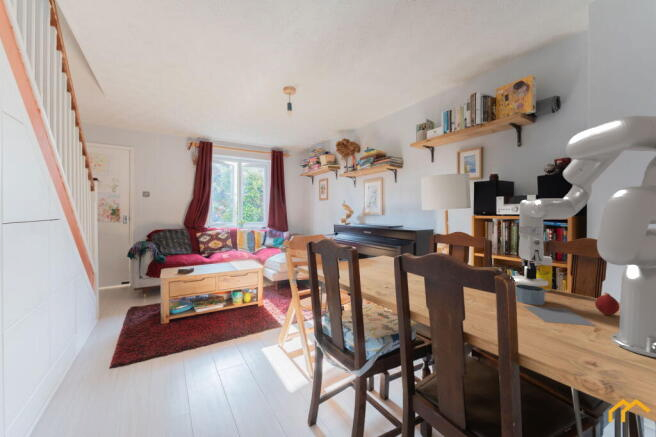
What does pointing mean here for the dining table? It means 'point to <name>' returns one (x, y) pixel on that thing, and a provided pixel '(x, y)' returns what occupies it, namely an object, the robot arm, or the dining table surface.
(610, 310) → the red rounded piece
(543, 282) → the lid
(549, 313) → the mat
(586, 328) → the dining table surface
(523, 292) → the bowl
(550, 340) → the dining table surface
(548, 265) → the yellow bottle
